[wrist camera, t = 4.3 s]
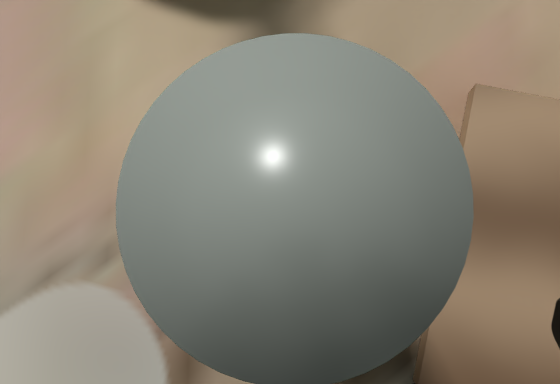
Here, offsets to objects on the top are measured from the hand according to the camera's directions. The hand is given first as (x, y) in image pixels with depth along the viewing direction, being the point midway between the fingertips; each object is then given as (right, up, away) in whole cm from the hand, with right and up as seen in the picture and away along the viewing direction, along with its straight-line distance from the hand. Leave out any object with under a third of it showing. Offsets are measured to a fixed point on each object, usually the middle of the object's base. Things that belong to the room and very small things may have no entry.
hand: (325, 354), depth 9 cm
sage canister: (0, +1, +10) cm, 10 cm away
